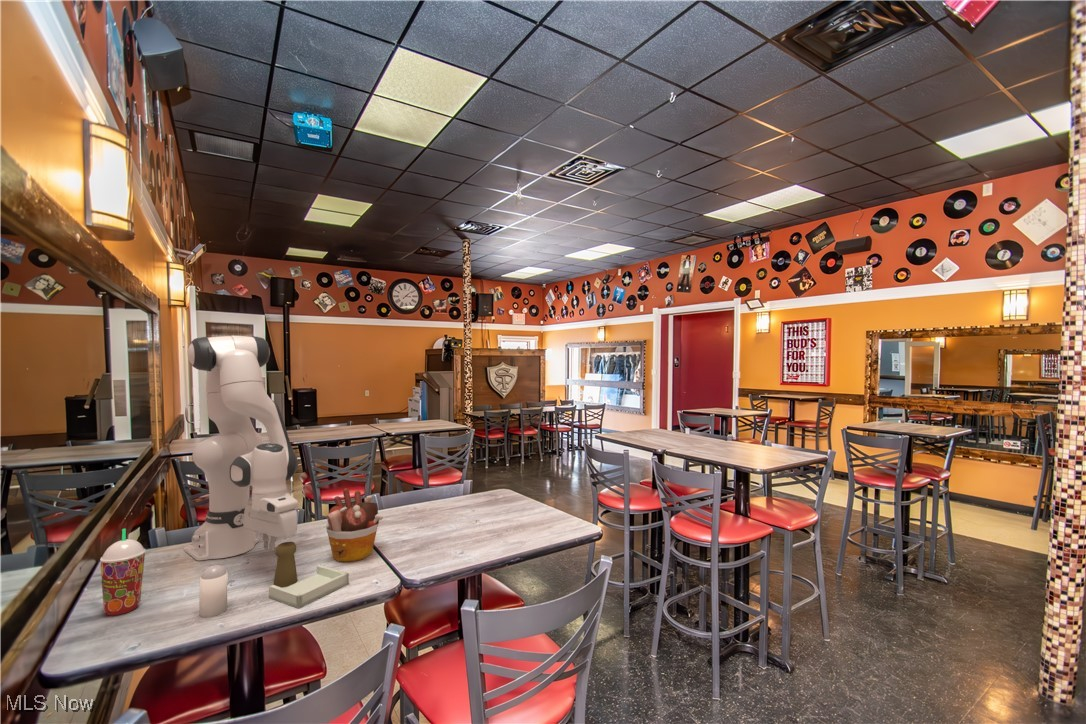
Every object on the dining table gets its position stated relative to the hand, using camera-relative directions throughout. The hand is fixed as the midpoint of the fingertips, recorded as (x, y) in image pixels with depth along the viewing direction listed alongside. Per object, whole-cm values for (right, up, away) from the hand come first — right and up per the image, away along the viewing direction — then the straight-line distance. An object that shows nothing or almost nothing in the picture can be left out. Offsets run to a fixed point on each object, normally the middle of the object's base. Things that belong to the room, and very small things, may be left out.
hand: (268, 548), depth 132 cm
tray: (+16, -8, -9) cm, 20 cm away
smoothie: (-25, -8, -19) cm, 32 cm away
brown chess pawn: (+7, -8, -4) cm, 11 cm away
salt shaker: (-2, -8, -19) cm, 21 cm away
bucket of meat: (+18, -9, +16) cm, 25 cm away
